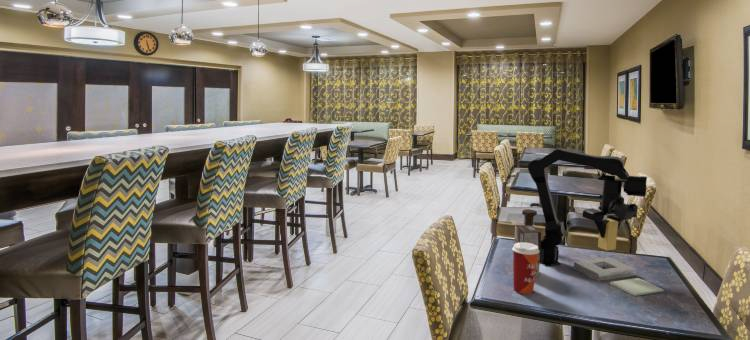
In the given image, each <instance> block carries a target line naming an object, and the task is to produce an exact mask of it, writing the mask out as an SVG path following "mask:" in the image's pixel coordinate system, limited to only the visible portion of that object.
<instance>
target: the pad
mask: <svg viewBox="0 0 750 340" xmlns="http://www.w3.org/2000/svg"><path fill="white" fill-rule="evenodd" d="M609 284H610V285H611V286H614V287H616V288H617V289H619V290H621V291H624V292H626V293H628V294H630V295H631V296H633V297H636V296H642V295H643V296H644V295H650V294H655V293H656V294H657V293H662V292H664V288H661V287H660V286H659V287H658V286H656V285H654V284H652V283H650V282H647V281H645V280H643V279H641V278H639V277H635V278H627V279H622V280H616V281H609Z"/></svg>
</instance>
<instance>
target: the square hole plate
mask: <svg viewBox="0 0 750 340" xmlns="http://www.w3.org/2000/svg"><path fill="white" fill-rule="evenodd" d="M573 269H574V270H575V271H577V272H580V273H582V274H584V275H586V276H587V277H590V278H591V279H594V280H595V281H598V282H600V281H609V280H615V279H621V278H630V277H634V276H635V277H636V273H637V272H636V271H637V269H636V268H635V267H633V266H630V265H628V264H626V263H623V262H621V261H619V260H617V259H615V258H611V257H601V258H595V259H585V260H578V261H573Z"/></svg>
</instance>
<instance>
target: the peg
mask: <svg viewBox="0 0 750 340" xmlns="http://www.w3.org/2000/svg"><path fill="white" fill-rule="evenodd" d="M607 220H609V222H608V223H607V224H606V231H605V236H604V238H602V237H601V236H600V233H599V232H598V240H597V241H598V242H597V247H598V248H600V249H602V250H604V251H613V250H616V249H617V247H616V246H617V237H618V230H619V228H618V221H615V220H612V219H609V218H607ZM617 229H618V230H617Z"/></svg>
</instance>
